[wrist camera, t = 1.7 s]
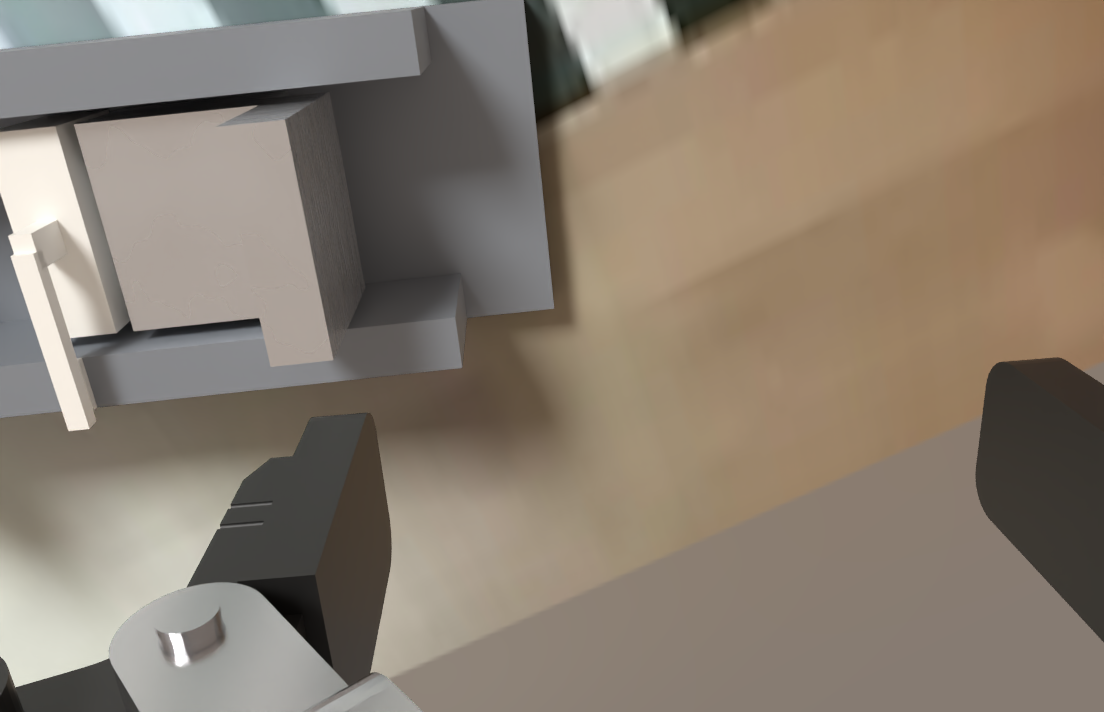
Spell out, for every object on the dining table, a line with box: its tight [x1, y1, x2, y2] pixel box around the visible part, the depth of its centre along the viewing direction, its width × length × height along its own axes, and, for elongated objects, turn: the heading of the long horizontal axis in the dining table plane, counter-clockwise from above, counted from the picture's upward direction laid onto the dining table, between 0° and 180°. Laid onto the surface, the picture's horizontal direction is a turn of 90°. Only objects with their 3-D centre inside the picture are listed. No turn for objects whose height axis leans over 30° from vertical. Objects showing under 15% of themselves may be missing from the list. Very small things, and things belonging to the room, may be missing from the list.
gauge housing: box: [0, 0, 554, 418], centre depth 26 cm, size 10×26×9 cm, turn 96°
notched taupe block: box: [74, 91, 365, 367], centre depth 26 cm, size 6×7×8 cm
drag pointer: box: [0, 110, 130, 431], centre depth 27 cm, size 8×2×5 cm, turn 5°
